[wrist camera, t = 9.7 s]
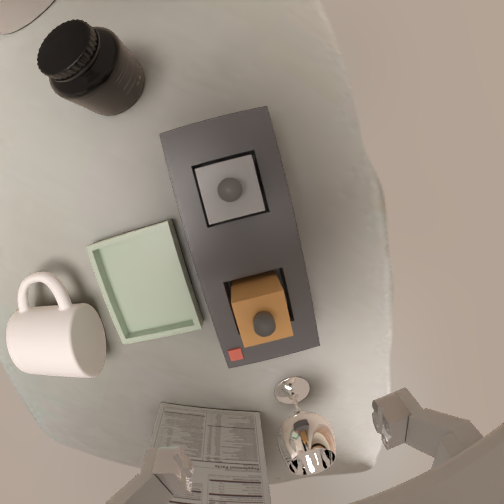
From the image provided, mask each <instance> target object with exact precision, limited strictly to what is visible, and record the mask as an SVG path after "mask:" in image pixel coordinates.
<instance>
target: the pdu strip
mask: <svg viewBox="0 0 504 504" xmlns="http://www.w3.org/2000/svg"><path fill="white" fill-rule="evenodd" d="M160 138H161V143H162V147H163V151H164V155H165V159H166V163H167V167H168V171H169V175H170V179H171V183H172V187H173V191H174V195H175V198H176V202H177V206H178V209H179V213H180V217H181V220H182V224H183V227H184V231H185V234H186V238H187V241H188V245H189V248H190V252H191V255H192V258H193V262H194V265H195V268H196V272H197V275H198V278H199V281H200V284H201V288H202V291H203V294H204V297H205V300H206V303H207V306H208V309H209V312H210V315H211V318H212V322H213V324H214V327H215V330H216V333H217V336H218V339H219V342H220V345H221V348H222V351H223V354H224V356H225V359H226V362H227V365H228V368H233V367H238V366H243V365H247V364H251V363H256V362H260V361H264V360H268V359H272V358H276V357H280V356H284V355H288V354H291V353H295V352H299V351H302V350H306V349H309V348H313V347H316V346H320V342H319V337H318V331H317V325H316V320H315V314H314V309H313V303H312V298H311V293H310V288H309V283H308V278H307V273H306V268H305V263H304V258H303V253H302V248H301V244H300V239H299V234H298V230H297V225H296V221H295V216H294V212H293V207H292V203H291V199H290V194H289V190H288V186H287V182H286V178H285V174H284V169H283V165H282V161H281V157H280V153H279V149H278V146H277V142H276V138H275V134H274V130H273V126H272V123H271V119H270V115H269V112H268V108H267V106H264V107H259V108H254V109H250V110H245V111H241V112H236V113H232V114H228V115H224V116H220V117H216V118H212V119H208V120H204V121H201V122H197V123H193V124H190V125H187V126H183V127H180V128H176V129H173V130H170V131H167V132H164V133H161V134H160ZM247 155H252V159H253V163H254V167H255V171H256V175H257V179H258V183H259V187H260V191H261V195H262V199H263V203H264V207H265V211H261V212H257V213H253V214H249V215H245V216H241V217H237V218H233V219H229V220H226V221H222V222H218V223H214V224H210V225H209V222H208V218H207V214H206V211H205V207H204V203H203V199H202V196H201V192H200V188H199V184H198V180H197V176H196V173H195V169H197V168H201V167H204V166H208V165H212V164H215V163H219V162H223V161H227V160H231V159H235V158H239V157H243V156H247ZM270 270H274V271H275V273H276V275H277V277H278V279H279V281H280V284H281V286H282V288H283V290H284V294H285V299H286V303H287V308H288V312H289V317H290V322H291V326H292V331H293V335H294V336H290V337H286V338H282V339H279V340H275V341H271V342H267V343H263V344H258V345H254V346H250V347H246V348H244V345H243V342H242V338H241V335H240V332H239V328H238V325H237V322H236V318H235V315H234V312H233V308H232V305H231V280H235V279H239V278H243V277H247V276H251V275H255V274H259V273H263V272H267V271H270Z"/></svg>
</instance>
